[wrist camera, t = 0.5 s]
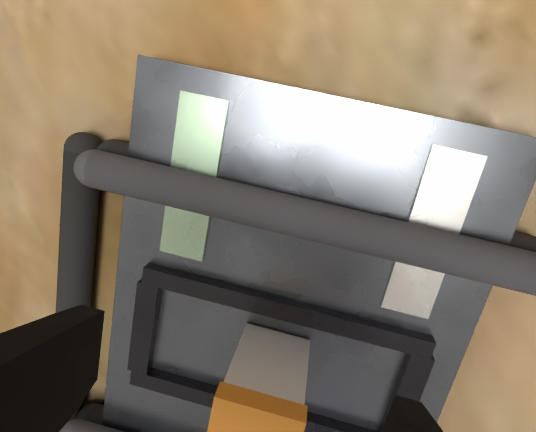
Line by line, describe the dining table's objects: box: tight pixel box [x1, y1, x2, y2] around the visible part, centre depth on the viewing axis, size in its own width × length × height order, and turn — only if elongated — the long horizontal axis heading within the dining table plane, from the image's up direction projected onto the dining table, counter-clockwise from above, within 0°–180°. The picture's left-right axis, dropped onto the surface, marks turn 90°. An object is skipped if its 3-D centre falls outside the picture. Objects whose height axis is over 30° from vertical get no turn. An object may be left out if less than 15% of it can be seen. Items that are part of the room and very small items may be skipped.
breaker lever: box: [207, 323, 310, 432], centre depth 16 cm, size 3×3×5 cm
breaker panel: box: [102, 55, 536, 432], centre depth 19 cm, size 24×16×2 cm, turn 168°
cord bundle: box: [56, 132, 536, 424], centre depth 19 cm, size 17×21×3 cm
